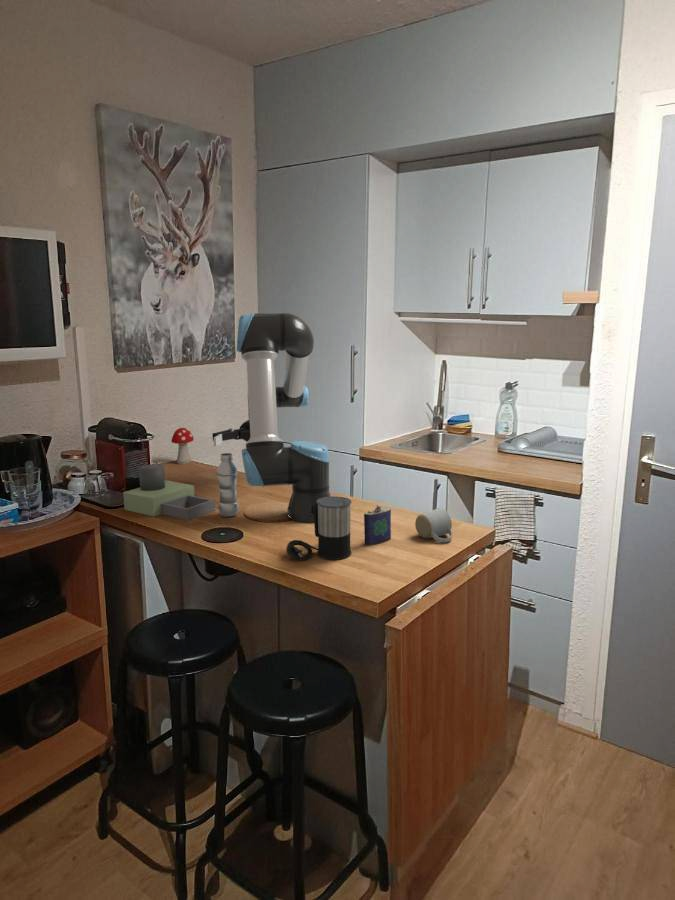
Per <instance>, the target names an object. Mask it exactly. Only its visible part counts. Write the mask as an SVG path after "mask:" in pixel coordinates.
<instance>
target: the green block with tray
mask: <svg viewBox="0 0 675 900" xmlns="http://www.w3.org/2000/svg"><path fill="white" fill-rule="evenodd" d="M138 475H139V485H140V486H139V487H137V488H134V489H130V490H126V491H123V492H122V493H123V494H122V495H123V506H124V507H123V508H124V510H125V511H129V512H133V513H138V514H141V515H146V516H151V517H153V518H154V517H157V516H160V515H164V516H169V517H173V518H176V517H177V518H176V519H180V518H181V520H185V519H186V520H185V521H189V520H193V519H195V518H199V517H201V516H203V515H206V514H209V513H212V512H214V511H216V506H215V505H216V504H215V499H211V498H206V497H201V496H197V495H195V486H194V484H188V483H181V482H177V481H172V480H167V479H165V467H164V465H162V464H155V463H154V464H146V465H145V464H144V465H142V466H139V467H138Z"/></svg>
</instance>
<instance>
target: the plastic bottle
mask: <svg viewBox="0 0 675 900" xmlns="http://www.w3.org/2000/svg"><path fill="white" fill-rule="evenodd" d="M219 460H220V461H221V462H220V463H219V465H218V467H217V470H216V474H217V475H216V476H217V481H218V486H219V487H218V488H219V499H218V500H219V501H218V512H219V513H218V514H219V515H220V516H222V517H225V518H226V517H228V518H229V517H230V518H231V517H235V516H237V515H238V513H239V512H240V511H239V510H240V505H239V501H238V495H237V493H238V492H237V482H238V481H237V480H238V468H237V466H236V465H235V464H234V462H233V454H232V453H230V452H224V453H220V459H219Z"/></svg>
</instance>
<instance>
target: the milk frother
mask: <svg viewBox="0 0 675 900" xmlns="http://www.w3.org/2000/svg"><path fill="white" fill-rule="evenodd" d="M351 504H352V500H351V499H349V498H347V497H343V496H335V495H334V496H333V495H331V496H330V497H324V498H320V499H318V500H317V502H316V503H315V504H314V522H313V524H314V535H315V537H316V538H317V539H318V540H317V542H318V543H317V548H316V547H314V546H312V545H311V544H309V543H308V542H306V541H303V540H301V539H300V540H298V539H293V540H291V541H289V542H288V543H287V545H286V554H287V555H288V556H289V557H290V558H292V559H294V560H307V559H310V558H311V557H312V555H313V550H315V551H317V552H316V555H317V556H318V557H319V558H322V559H326V560H330V561H331V560H332V561H333V560H344V559H346V558H348V557H350V556H351V555H352V550H351V509H352V508H351V507H352V506H351ZM296 546H300V547H303V548H305V550H306V551H307V553H306V554H302V552H303V551H302V549H299V548H298V547H296Z"/></svg>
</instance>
